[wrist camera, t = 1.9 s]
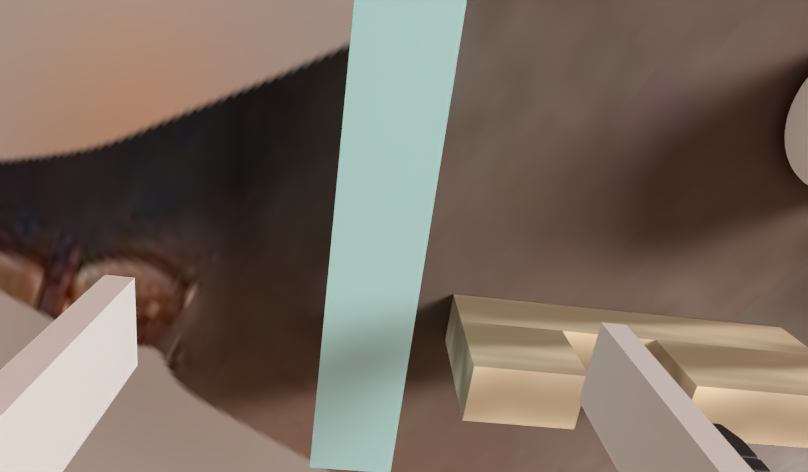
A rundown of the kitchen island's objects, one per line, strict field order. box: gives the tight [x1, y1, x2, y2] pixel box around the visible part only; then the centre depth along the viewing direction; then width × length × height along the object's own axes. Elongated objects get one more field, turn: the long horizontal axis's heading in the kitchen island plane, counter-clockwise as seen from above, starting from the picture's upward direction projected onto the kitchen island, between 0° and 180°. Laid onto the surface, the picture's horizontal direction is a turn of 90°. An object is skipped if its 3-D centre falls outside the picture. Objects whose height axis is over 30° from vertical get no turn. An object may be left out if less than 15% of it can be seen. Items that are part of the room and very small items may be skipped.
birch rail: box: [445, 294, 808, 448], centre depth 29 cm, size 3×20×7 cm, turn 82°
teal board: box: [310, 0, 467, 472], centre depth 24 cm, size 20×4×9 cm, turn 172°
